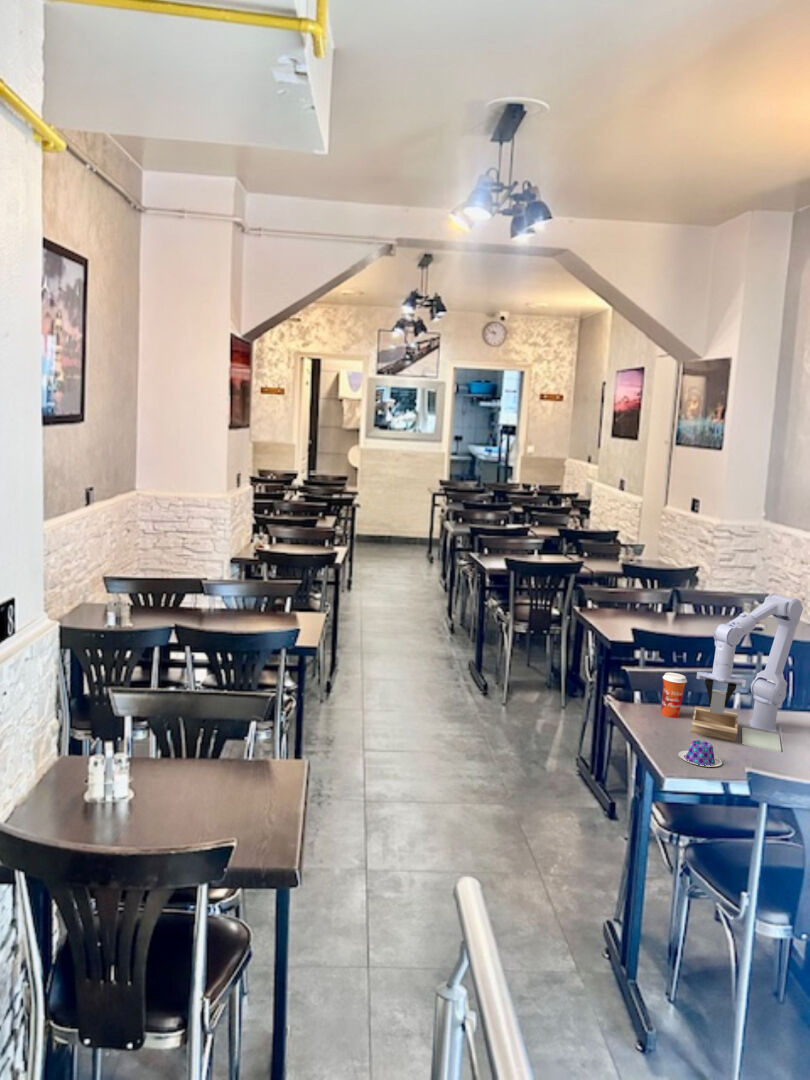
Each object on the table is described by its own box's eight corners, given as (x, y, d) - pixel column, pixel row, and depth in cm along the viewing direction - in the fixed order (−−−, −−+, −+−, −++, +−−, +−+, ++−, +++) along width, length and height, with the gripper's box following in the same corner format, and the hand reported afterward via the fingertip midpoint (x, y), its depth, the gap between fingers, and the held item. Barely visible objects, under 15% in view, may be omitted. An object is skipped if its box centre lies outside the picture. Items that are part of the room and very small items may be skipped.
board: (741, 730, 280) (742, 727, 279) (778, 737, 276) (779, 734, 276) (741, 745, 265) (742, 742, 265) (780, 753, 261) (781, 750, 261)
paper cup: (657, 717, 285) (663, 676, 283) (657, 710, 292) (663, 670, 290) (682, 721, 283) (688, 680, 281) (681, 715, 290) (687, 674, 288)
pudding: (719, 772, 241) (722, 754, 241) (675, 762, 246) (677, 744, 246) (723, 759, 252) (726, 742, 252) (681, 749, 257) (683, 732, 256)
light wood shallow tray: (693, 718, 287) (695, 705, 287) (735, 726, 283) (737, 713, 282) (690, 737, 268) (691, 723, 267) (735, 746, 263) (737, 732, 262)
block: (710, 707, 279) (712, 689, 278) (723, 710, 277) (725, 691, 277) (709, 712, 271) (712, 693, 271) (723, 714, 270) (725, 695, 269)
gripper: (698, 661, 270) (692, 703, 272) (748, 669, 265) (742, 712, 267) (699, 656, 277) (694, 697, 279) (748, 664, 272) (742, 706, 274)
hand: (717, 704), depth 273 cm, fingers closed on block, 4 cm apart
